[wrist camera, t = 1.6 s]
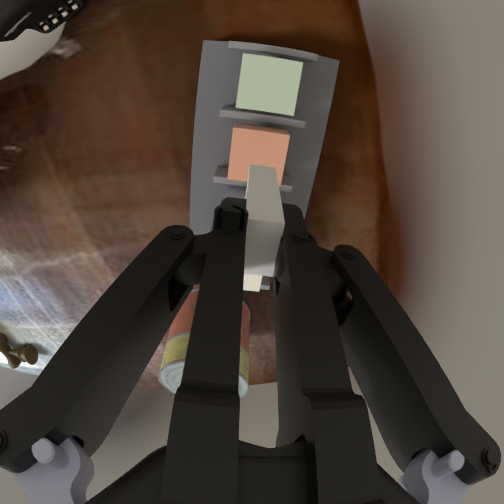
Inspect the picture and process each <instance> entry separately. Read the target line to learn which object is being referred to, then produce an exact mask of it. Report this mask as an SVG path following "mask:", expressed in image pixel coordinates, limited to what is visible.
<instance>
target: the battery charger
mask: <svg viewBox="0 0 504 504" xmlns="http://www.w3.org/2000/svg"><path fill="white" fill-rule="evenodd" d="M85 1H86V0H0V42H3V41H10V40H14V39H16V38H17V37H18V36H19V35H20V34H21V33H22V32H23V31H24V30H25V29H34V30H36V31H39V32H42V33H49V32H51V31H53V30H54V29H55V28H57V27H58V26H59V25H61V24H62V23H63V22H65V21H66V20H68V19H69V18H71V17H72V16H73V15H75V14H76V13H78V12H79V11H80V10H82V9H83V7H84V5H85Z"/></svg>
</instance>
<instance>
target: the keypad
mask: <svg viewBox="0 0 504 504" xmlns="http://www.w3.org/2000/svg"><path fill="white" fill-rule="evenodd" d="M243 53H244V54H253V55H261V56H269V57H275V58H281V59H287V60H293V61H298V62H303V67H302V72H301V78H300V84H299V89H298V95H297V101H296V106H295V112H294V116H290V115H285V114H278V113H272V112H265V111H258V110H250V109H242V108H236V101H237V93H238V86H239V78H240V71H241V64H242V57H243ZM338 67H339V60H335V59H331V58H327V57H323V56H319V55H318V54H314V53H310V52H305V51H300V50H295V49H289V48H284V47H278V46H271V45H264V44H256V43H247V42H237V41H229V42H226V41H206V40H203V47H202V55H201V63H200V71H199V81H198V90H197V100H196V111H195V124H194V137H193V152H192V170H191V193H190V229H191V230H192V231H193V233H194V235H201V234H206V233H209V232H211V231H212V230H213V223H214V210H215V208H216V207H217V206H219V205H221V201H222V200H223V199H225V197H226V192H227V188H228V185H230V186H239V187H247V181H238V180H230V179H227V177H228V168H229V159H230V150H231V141H232V133H233V127H234V124H235V122H239V123H247V124H255V125H263V126H270V127H276V128H283V129H287V130H288V132H289V134H290V139H289V144H288V149H287V155H286V160H285V165H284V170H283V176H282V181H281V186H279V191H280V197H281V203H286V204H293V205H297V206H298V207H299V208H300V209H301V210H302V213H303V217H304V219H305V215H306V211H307V207H308V203H309V199H310V195H311V191H312V187H313V183H314V179H315V174H316V170H317V166H318V162H319V157H320V153H321V149H322V144H323V140H324V135H325V131H326V126H327V122H328V117H329V112H330V107H331V102H332V98H333V93H334V88H335V83H336V77H337V72H338ZM273 277H275V269H274V274H273ZM269 288H270V276H262V281H261V285H260V289H265V290H269Z"/></svg>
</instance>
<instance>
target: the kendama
mask: <svg viewBox="0 0 504 504" xmlns="http://www.w3.org/2000/svg"><path fill="white" fill-rule="evenodd" d="M0 351H1V352H2V353H3V354H4V355H5V356H6V358H7V360H8V363H9V366H10V367H11V368H12V369H14V368H17V367H18V366H19V365H20V363H21V361H22V362H26V361H27V362H28V363H29V364H31V365H34V364H35V363H36V362H37V360H38V352H37V350H36V349H35V348H34V347H33V346H32V345H28V346H27V347H25V346H23V345H21V346H19V347H18V349H11V348H10V346H9V345H8V343H7V341H6V337H5V335H4V334H0Z"/></svg>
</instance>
